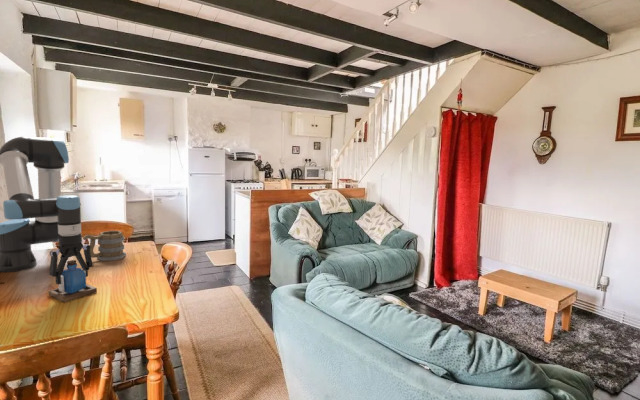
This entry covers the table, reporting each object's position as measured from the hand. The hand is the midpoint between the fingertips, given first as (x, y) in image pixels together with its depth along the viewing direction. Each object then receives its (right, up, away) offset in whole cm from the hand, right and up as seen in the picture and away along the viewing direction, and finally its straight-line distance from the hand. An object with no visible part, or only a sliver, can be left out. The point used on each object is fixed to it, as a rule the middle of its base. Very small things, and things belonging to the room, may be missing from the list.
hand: (72, 287), depth 137 cm
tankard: (-16, +4, +45) cm, 47 cm away
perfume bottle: (0, -1, 0) cm, 1 cm away
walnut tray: (0, -3, 0) cm, 3 cm away
